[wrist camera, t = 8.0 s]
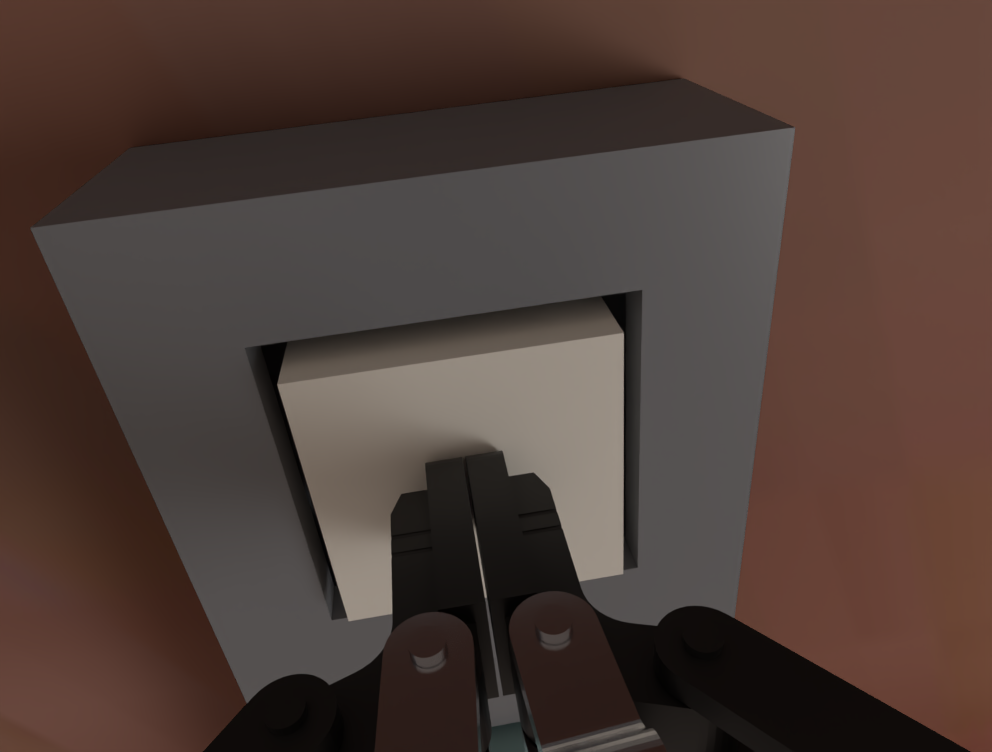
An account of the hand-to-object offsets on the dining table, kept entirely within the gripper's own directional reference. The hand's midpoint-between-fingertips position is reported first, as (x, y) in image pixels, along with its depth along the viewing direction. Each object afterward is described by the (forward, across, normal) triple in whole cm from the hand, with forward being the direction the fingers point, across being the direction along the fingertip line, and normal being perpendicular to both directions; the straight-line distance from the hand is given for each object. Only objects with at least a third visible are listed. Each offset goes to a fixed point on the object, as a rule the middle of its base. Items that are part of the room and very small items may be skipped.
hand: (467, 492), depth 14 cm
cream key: (+3, 0, 0) cm, 3 cm away
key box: (+6, 0, +6) cm, 8 cm away
